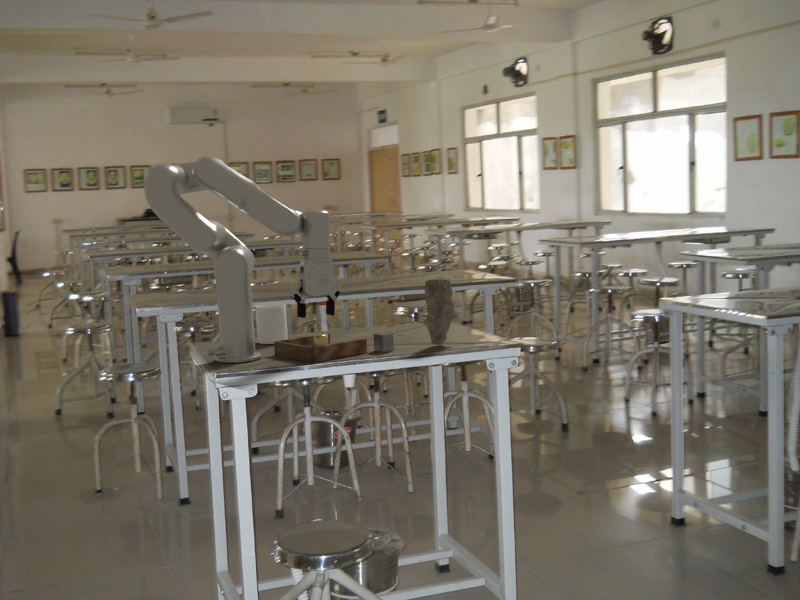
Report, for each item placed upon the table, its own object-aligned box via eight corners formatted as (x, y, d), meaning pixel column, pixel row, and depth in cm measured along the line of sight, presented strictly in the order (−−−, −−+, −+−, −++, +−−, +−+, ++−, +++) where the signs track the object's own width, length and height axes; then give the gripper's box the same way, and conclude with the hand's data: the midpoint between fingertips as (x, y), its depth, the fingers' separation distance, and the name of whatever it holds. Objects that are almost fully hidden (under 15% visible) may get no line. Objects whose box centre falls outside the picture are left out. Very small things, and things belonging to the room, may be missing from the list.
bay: (312, 362, 219) (311, 347, 218) (274, 355, 233) (274, 341, 232) (367, 352, 231) (366, 338, 231) (328, 346, 245) (327, 332, 245)
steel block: (383, 352, 231) (382, 335, 230) (374, 351, 234) (373, 333, 233) (393, 350, 233) (393, 333, 233) (384, 349, 236) (384, 332, 236)
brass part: (320, 357, 226) (319, 336, 225) (311, 356, 229) (310, 335, 228) (331, 355, 229) (330, 334, 228) (323, 354, 232) (322, 333, 231)
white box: (259, 346, 251) (257, 308, 249) (254, 340, 262) (252, 304, 261) (290, 343, 254) (288, 306, 252) (283, 338, 265) (281, 302, 264)
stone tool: (427, 348, 233) (425, 279, 231) (418, 346, 238) (415, 278, 236) (463, 344, 239) (461, 276, 237) (453, 341, 244) (451, 275, 242)
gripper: (298, 256, 217) (297, 319, 219) (349, 254, 229) (348, 315, 231) (282, 255, 223) (282, 317, 225) (333, 253, 234) (333, 312, 236)
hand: (316, 316), depth 228 cm, fingers open, 9 cm apart
